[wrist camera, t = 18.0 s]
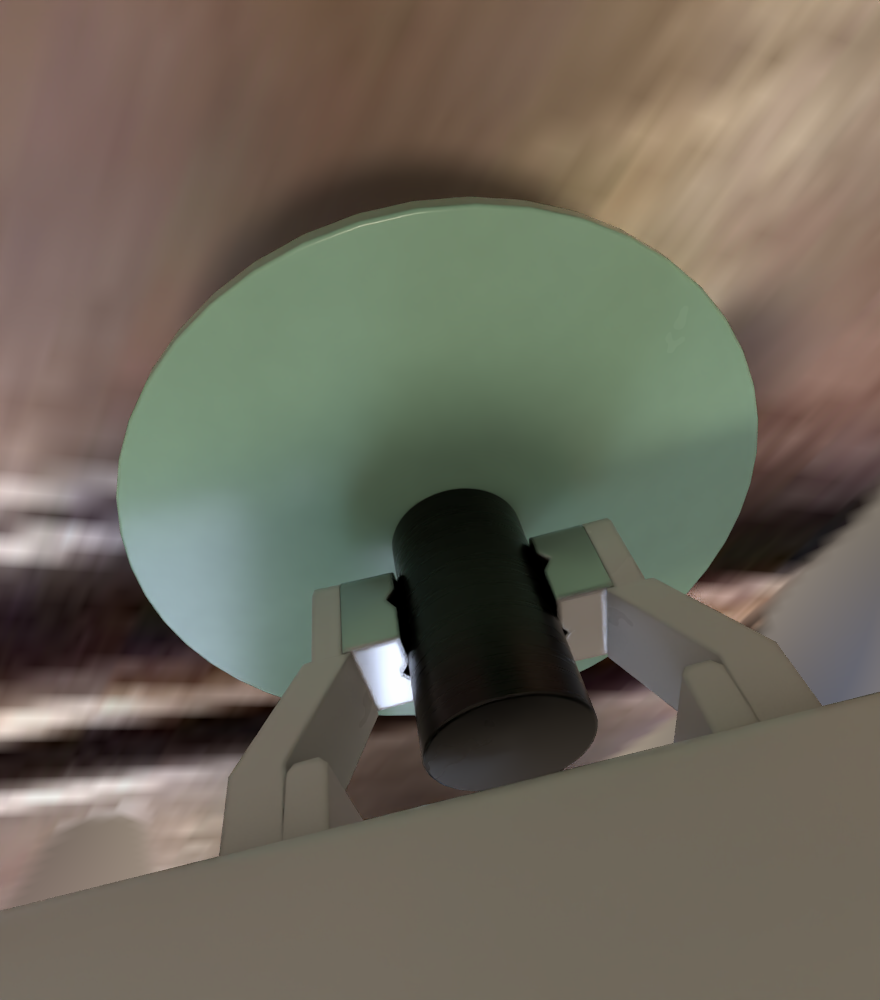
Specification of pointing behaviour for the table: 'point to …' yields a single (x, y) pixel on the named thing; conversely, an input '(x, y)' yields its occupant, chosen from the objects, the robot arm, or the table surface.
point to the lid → (436, 456)
